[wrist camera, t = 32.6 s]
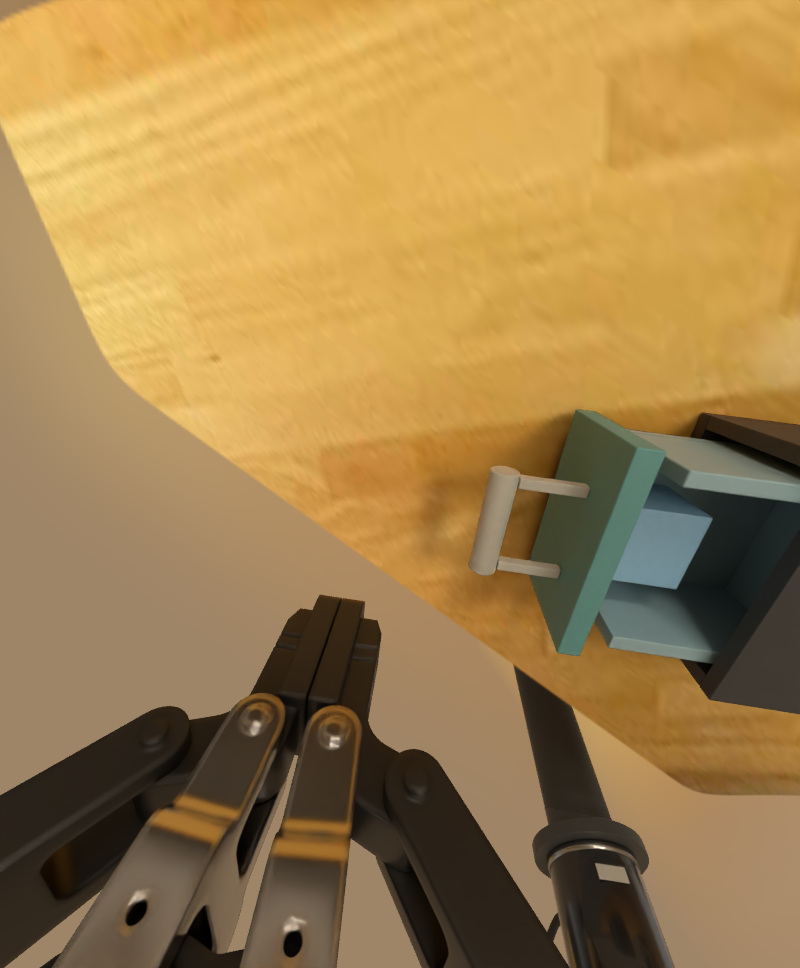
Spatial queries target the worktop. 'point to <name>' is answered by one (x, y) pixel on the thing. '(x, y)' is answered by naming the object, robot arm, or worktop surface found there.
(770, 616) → the dark grey drawer cabinet
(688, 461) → the teal drawer
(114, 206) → the worktop surface
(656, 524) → the pale blue rectangular block
